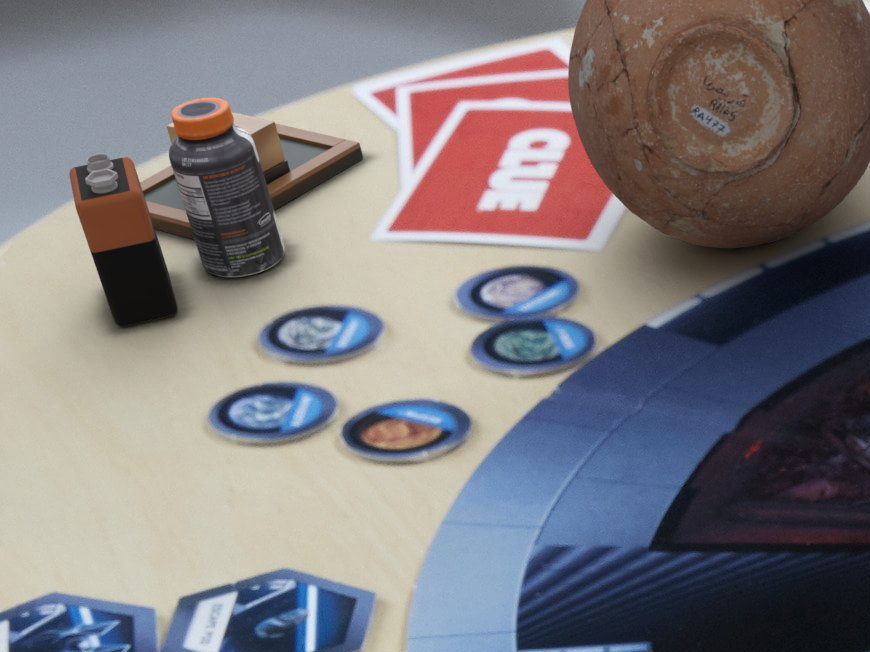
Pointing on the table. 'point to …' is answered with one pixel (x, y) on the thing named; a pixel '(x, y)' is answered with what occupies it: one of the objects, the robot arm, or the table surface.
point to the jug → (724, 111)
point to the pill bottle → (223, 190)
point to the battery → (122, 240)
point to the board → (308, 168)
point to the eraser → (259, 144)
